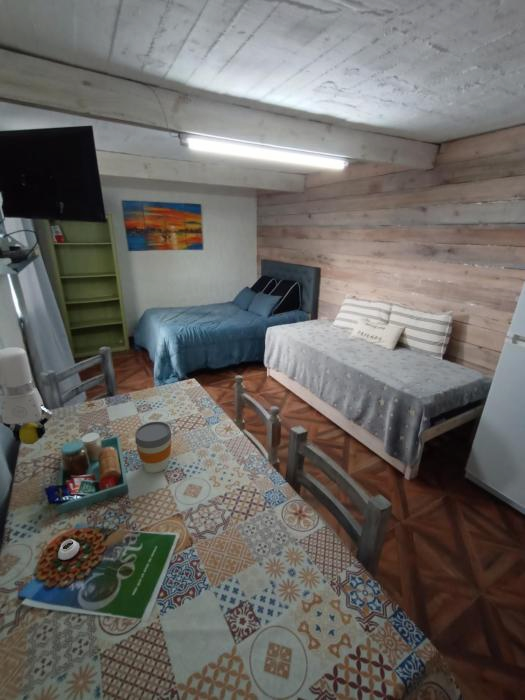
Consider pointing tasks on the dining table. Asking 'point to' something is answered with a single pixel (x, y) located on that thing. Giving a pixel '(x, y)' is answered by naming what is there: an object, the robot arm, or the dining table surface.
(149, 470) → the reusable coffee cup
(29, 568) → the dining table surface
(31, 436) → the lemon
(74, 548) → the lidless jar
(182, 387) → the dining table surface
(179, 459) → the dining table surface
